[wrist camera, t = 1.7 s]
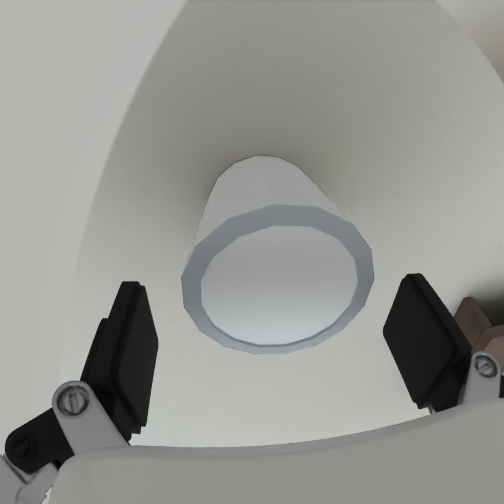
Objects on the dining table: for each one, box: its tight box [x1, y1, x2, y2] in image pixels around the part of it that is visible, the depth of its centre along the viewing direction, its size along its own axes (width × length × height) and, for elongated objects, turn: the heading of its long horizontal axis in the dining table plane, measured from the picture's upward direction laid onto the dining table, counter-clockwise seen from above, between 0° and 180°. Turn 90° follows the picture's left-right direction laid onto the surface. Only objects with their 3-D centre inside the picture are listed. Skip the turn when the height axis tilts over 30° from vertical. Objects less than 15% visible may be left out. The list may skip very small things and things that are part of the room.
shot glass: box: [181, 156, 374, 354], centre depth 14 cm, size 7×7×7 cm
